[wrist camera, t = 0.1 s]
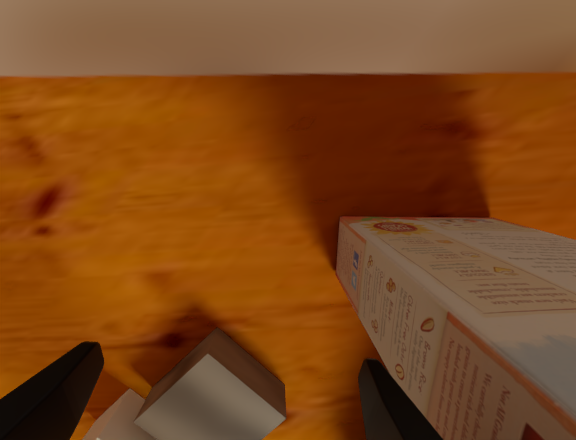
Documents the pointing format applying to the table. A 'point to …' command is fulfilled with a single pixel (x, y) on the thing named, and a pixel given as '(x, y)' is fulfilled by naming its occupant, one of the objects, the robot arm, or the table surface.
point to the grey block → (214, 396)
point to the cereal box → (469, 320)
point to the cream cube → (120, 421)
